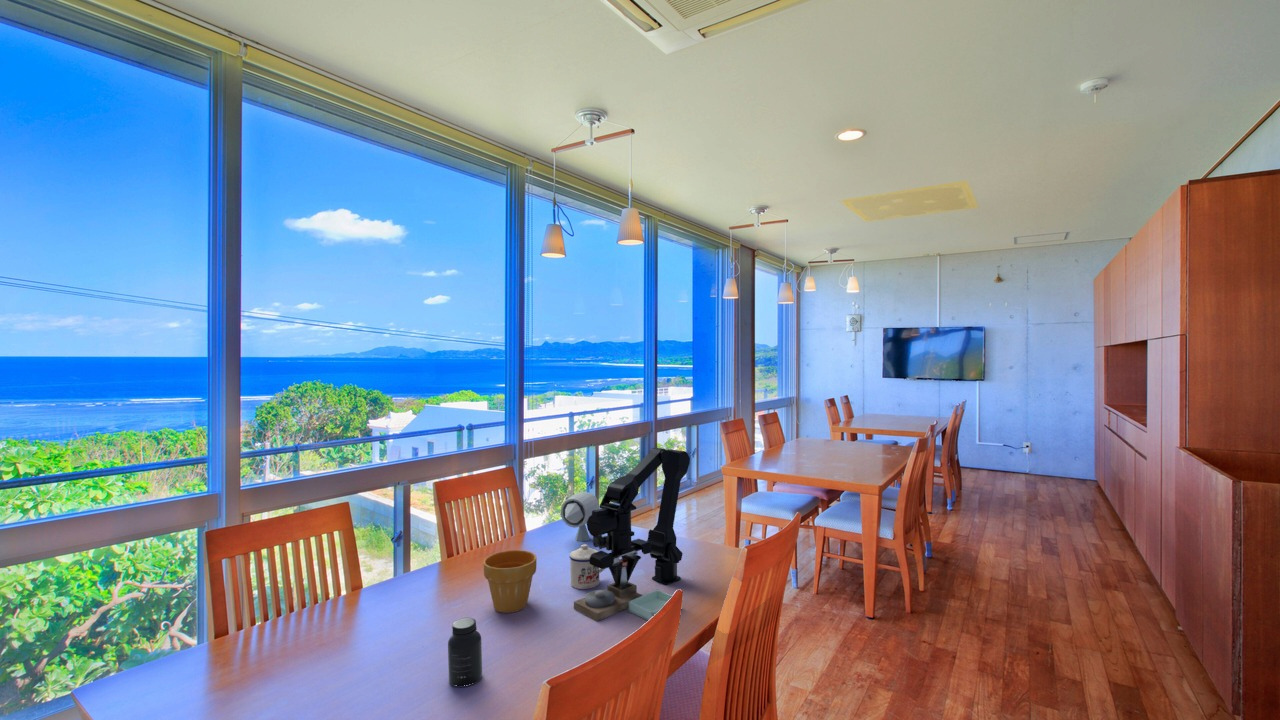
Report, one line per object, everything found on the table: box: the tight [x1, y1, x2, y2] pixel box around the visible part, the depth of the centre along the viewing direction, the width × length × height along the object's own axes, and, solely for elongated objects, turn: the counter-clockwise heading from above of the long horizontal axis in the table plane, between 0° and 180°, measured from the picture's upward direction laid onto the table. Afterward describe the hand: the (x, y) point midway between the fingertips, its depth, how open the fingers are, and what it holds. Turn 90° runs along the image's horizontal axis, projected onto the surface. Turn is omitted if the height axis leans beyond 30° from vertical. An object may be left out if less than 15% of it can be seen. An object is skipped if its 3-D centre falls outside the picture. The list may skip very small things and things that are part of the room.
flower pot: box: [483, 549, 537, 614], centre depth 152 cm, size 14×14×13 cm
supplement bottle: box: [447, 617, 483, 687], centre depth 117 cm, size 7×7×12 cm
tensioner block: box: [573, 581, 643, 622], centre depth 151 cm, size 16×10×4 cm, turn 134°
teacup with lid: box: [569, 543, 605, 590], centre depth 167 cm, size 12×9×12 cm
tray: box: [627, 589, 673, 621], centre depth 148 cm, size 11×9×2 cm
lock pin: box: [617, 558, 628, 590], centre depth 155 cm, size 4×4×9 cm
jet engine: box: [560, 491, 600, 543], centre depth 205 cm, size 15×20×18 cm
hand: (621, 583), depth 155 cm, fingers closed on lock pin, 3 cm apart
